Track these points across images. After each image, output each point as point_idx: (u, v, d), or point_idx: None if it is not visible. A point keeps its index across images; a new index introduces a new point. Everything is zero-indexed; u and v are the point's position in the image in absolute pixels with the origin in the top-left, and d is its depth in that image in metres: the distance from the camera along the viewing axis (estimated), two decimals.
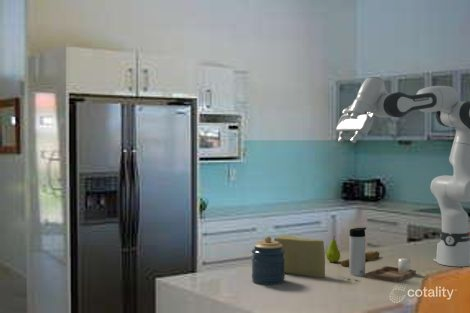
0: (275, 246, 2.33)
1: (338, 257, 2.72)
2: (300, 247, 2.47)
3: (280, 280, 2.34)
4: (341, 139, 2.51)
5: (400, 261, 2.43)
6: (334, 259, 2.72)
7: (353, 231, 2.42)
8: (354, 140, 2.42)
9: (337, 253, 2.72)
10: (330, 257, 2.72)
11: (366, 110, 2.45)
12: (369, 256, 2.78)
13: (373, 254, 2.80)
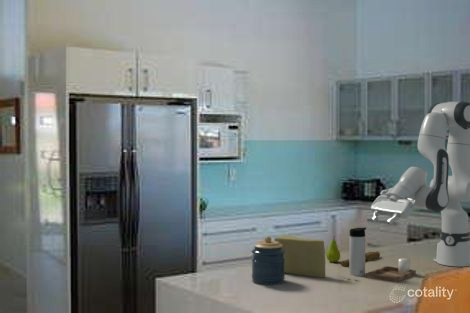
0: (275, 246, 2.33)
1: (338, 257, 2.72)
2: (301, 247, 2.47)
3: (280, 280, 2.34)
4: (375, 218, 2.53)
5: (400, 261, 2.43)
6: (334, 259, 2.72)
7: (353, 231, 2.42)
8: (391, 222, 2.45)
9: (337, 253, 2.72)
10: (330, 257, 2.72)
11: (407, 196, 2.50)
12: (369, 256, 2.78)
13: (373, 254, 2.80)
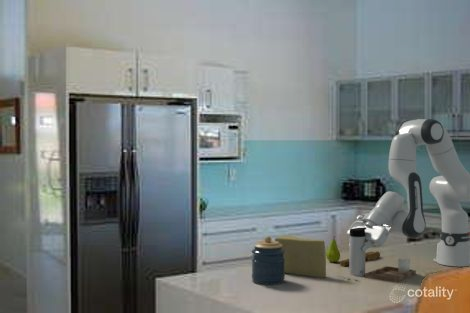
0: (275, 246, 2.33)
1: (338, 257, 2.72)
2: (301, 247, 2.47)
3: (280, 280, 2.34)
4: None
5: (400, 261, 2.43)
6: (334, 259, 2.72)
7: (353, 231, 2.42)
8: (364, 249, 2.40)
9: (337, 253, 2.72)
10: (330, 257, 2.72)
11: (383, 222, 2.44)
12: (369, 256, 2.78)
13: (373, 254, 2.80)
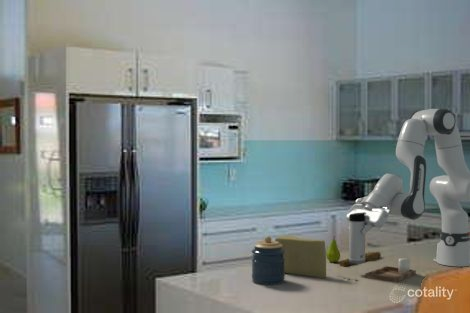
0: (275, 246, 2.33)
1: (338, 257, 2.72)
2: (301, 247, 2.47)
3: (280, 280, 2.34)
4: None
5: (400, 261, 2.43)
6: (334, 259, 2.72)
7: (353, 216, 2.41)
8: (364, 231, 2.40)
9: (337, 253, 2.72)
10: (330, 257, 2.72)
11: (382, 205, 2.44)
12: (369, 256, 2.77)
13: (374, 254, 2.80)
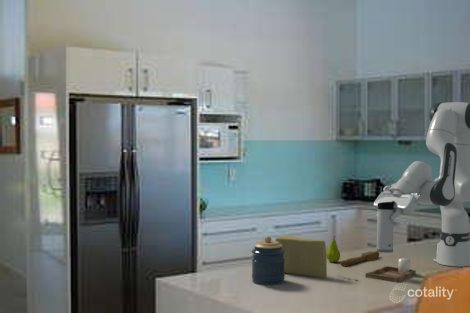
0: (275, 246, 2.33)
1: (338, 257, 2.72)
2: (302, 247, 2.47)
3: (280, 280, 2.34)
4: None
5: (400, 261, 2.43)
6: (334, 259, 2.72)
7: (381, 204, 2.38)
8: (393, 217, 2.36)
9: (337, 253, 2.72)
10: (330, 257, 2.72)
11: (411, 191, 2.40)
12: (369, 256, 2.78)
13: (373, 254, 2.80)
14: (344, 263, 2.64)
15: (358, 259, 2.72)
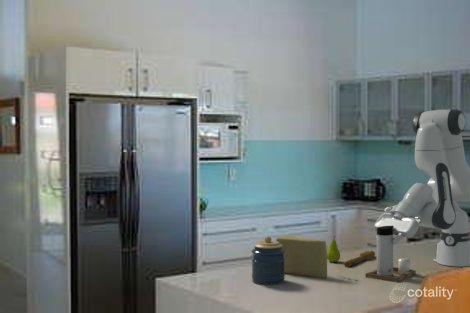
0: (275, 246, 2.33)
1: (338, 257, 2.72)
2: (302, 247, 2.47)
3: (280, 280, 2.34)
4: None
5: (400, 261, 2.43)
6: (334, 259, 2.72)
7: (380, 230, 2.37)
8: (395, 241, 2.36)
9: (337, 253, 2.72)
10: (330, 257, 2.72)
11: (412, 214, 2.40)
12: (367, 256, 2.78)
13: (370, 254, 2.81)
14: (348, 264, 2.63)
15: (359, 259, 2.71)
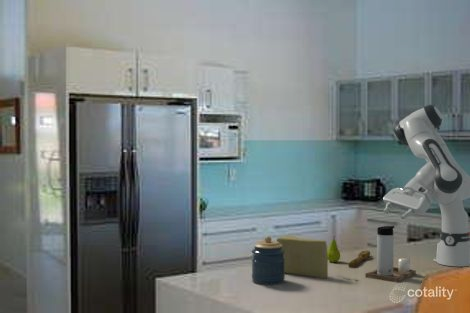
0: (275, 246, 2.33)
1: (338, 257, 2.72)
2: (303, 247, 2.47)
3: (280, 280, 2.34)
4: None
5: (400, 261, 2.43)
6: (334, 259, 2.72)
7: (381, 229, 2.38)
8: None
9: (337, 253, 2.72)
10: (330, 257, 2.72)
11: None
12: (365, 256, 2.79)
13: (367, 253, 2.82)
14: (353, 264, 2.62)
15: (360, 259, 2.71)
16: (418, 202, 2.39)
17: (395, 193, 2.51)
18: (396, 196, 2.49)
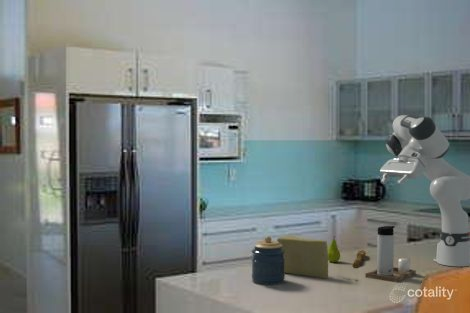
0: (275, 246, 2.33)
1: (338, 257, 2.72)
2: (303, 247, 2.46)
3: (280, 280, 2.34)
4: None
5: (400, 261, 2.43)
6: (334, 259, 2.72)
7: (381, 229, 2.38)
8: None
9: (337, 253, 2.72)
10: (330, 257, 2.72)
11: None
12: (363, 255, 2.79)
13: (364, 253, 2.83)
14: (357, 264, 2.61)
15: (361, 259, 2.71)
16: (412, 167, 2.42)
17: (391, 163, 2.54)
18: (392, 166, 2.52)
